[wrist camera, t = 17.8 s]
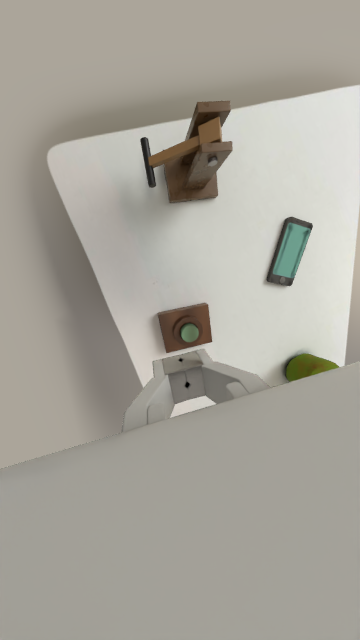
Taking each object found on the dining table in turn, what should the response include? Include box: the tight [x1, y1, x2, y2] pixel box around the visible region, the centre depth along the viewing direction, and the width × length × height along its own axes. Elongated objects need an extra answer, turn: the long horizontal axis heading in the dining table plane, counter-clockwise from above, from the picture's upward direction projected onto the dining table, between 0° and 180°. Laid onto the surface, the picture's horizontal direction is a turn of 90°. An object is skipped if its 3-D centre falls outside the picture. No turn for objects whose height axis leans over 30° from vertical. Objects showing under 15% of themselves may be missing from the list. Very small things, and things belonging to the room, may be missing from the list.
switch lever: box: [140, 117, 222, 188], centre depth 25 cm, size 12×6×2 cm
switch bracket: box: [163, 101, 232, 203], centre depth 28 cm, size 10×8×13 cm
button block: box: [158, 303, 212, 353], centre depth 41 cm, size 12×10×4 cm
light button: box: [180, 323, 199, 342], centre depth 39 cm, size 4×4×2 cm
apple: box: [286, 353, 339, 382], centre depth 49 cm, size 12×12×11 cm
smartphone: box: [267, 217, 313, 286], centre depth 42 cm, size 7×1×15 cm
